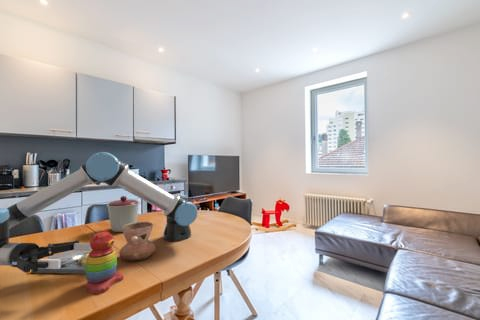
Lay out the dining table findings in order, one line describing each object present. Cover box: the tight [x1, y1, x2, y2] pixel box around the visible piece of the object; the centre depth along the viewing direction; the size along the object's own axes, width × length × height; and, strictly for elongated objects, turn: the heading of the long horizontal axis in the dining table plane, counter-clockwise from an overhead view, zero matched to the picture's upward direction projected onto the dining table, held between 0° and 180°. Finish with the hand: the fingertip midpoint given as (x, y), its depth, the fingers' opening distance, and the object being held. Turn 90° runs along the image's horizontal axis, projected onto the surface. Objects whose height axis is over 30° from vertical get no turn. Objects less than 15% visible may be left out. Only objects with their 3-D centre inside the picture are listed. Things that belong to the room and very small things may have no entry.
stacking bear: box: [84, 229, 124, 294], centre depth 76 cm, size 11×10×18 cm
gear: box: [47, 250, 89, 267], centre depth 91 cm, size 15×15×2 cm
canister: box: [106, 195, 140, 233], centre depth 136 cm, size 18×18×21 cm
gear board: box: [30, 251, 117, 274], centre depth 91 cm, size 24×15×5 cm, turn 87°
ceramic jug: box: [118, 221, 156, 262], centre depth 97 cm, size 18×14×14 cm
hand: (76, 254), depth 76 cm, fingers open, 13 cm apart
